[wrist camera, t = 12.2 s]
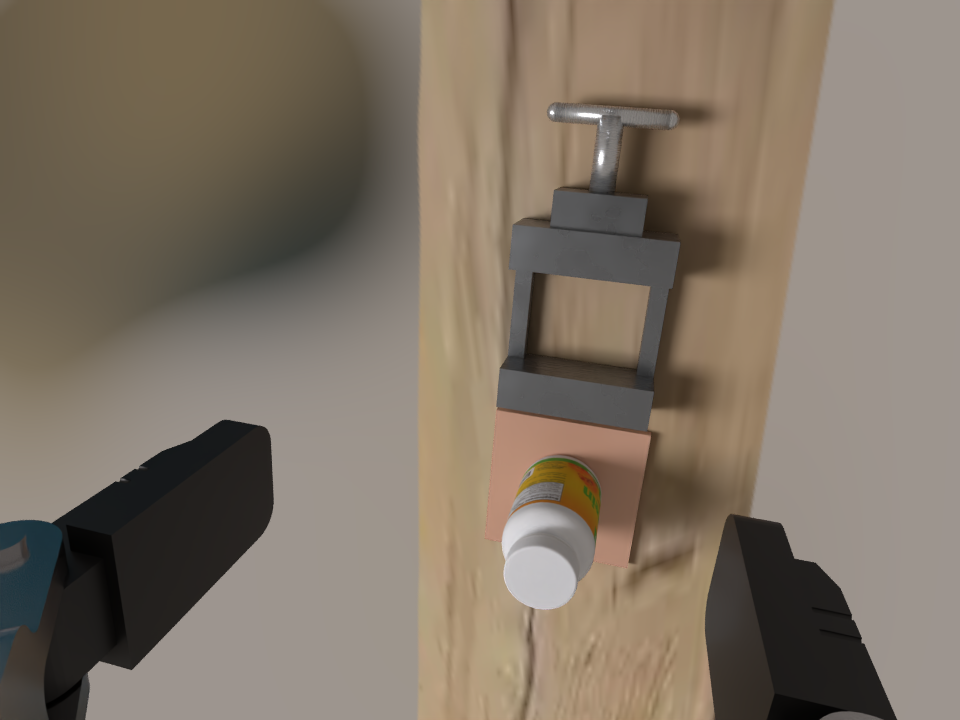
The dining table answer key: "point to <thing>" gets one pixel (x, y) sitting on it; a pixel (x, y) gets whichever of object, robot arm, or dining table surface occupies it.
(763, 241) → the dining table surface
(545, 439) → the terracotta tile
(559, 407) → the bench vise
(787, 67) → the dining table surface
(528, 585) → the supplement bottle
